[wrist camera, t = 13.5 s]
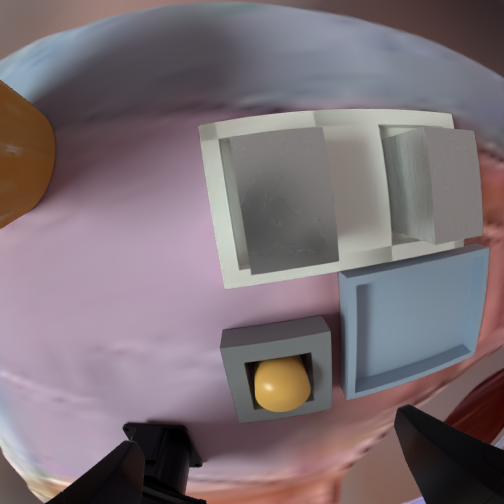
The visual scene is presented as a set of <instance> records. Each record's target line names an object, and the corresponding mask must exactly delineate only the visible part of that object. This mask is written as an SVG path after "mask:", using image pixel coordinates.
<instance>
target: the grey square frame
mask: <svg viewBox="0 0 504 504" xmlns="http://www.w3.org/2000/svg"><path fill="white" fill-rule="evenodd" d="M220 351H221V355H222V359H223V364H224V368H225V372H226V376H227V380H228V383H229V387H230V391H231V395H232V399H233V403H234V406H235V410H236V414H237V417H238V421H239V423H248V422H257V421H265V420H273V419H279V418H286V417H292V416H298V415H303V414H309V413H314V412H319V411H324V410H328V409H332V356H331V331H330V329H329V327H328V326H327V324H326V322H325V320H324V319H323V317H322V315H318V316H313V317H307V318H302V319H296V320H290V321H284V322H278V323H272V324H265V325H258V326H251V327H244V328H237V329H229V330H223V331H222V338H221V344H220ZM304 353H306V354H307V368H308V380H309V383H310V388H311V391H310V395H309V397H308V399H307V400H306V401H305V402H304V403H303V404H302V405H301V406H299V407H297V408H296V409H293V410H290V411H286V412H274V411H270V410H267V409H265V408H263V407H262V406H261V405H260V404H259V403H258V402H257V400H256V397H255V389H253V387H252V382H251V377H250V372H249V367H248V362H254V361H261V360H268V359H274V358H281V357H287V356H293V355H299V354H304Z"/></svg>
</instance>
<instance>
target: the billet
mask: <svg viewBox="0 0 504 504" xmlns="http://www.w3.org/2000/svg"><path fill="white" fill-rule="evenodd" d="M382 146H383V152H384V159H385V166H386V173H387V181H388V190H389V200H390V211H391V224H392V231H395V232H398V233H401V234H404V235H407V236H410V237H413V238H416V239H419V240H421V241H424V242H427V243H430V244H433V245H438V244H443V243H448V242H453V241H458V240H463V239H467V238H472V237H477V236H482V235H483V212H482V191H481V179H480V169H479V160H478V153H477V146H476V140H475V134H474V131H472V130H462V129H450V128H434V127H421V128H418V129H414V130H411V131H408V132H404V133H401V134H398V135H395V136H391V137H388V138H385V139H382Z"/></svg>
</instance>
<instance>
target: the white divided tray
mask: <svg viewBox="0 0 504 504" xmlns="http://www.w3.org/2000/svg"><path fill="white" fill-rule="evenodd" d="M316 127H323V132H324V138H325V144H326V150H327V157H328V163H329V170H330V177H331V185H332V192H333V200H334V209H335V218H336V228H337V238H338V250H339V261H338V262H333V263H327V264H320V265H314V266H308V267H302V268H296V269H290V270H283V271H277V272H270V273H264V274H257V275H251V270H250V263H249V257H248V251H247V244H246V238H245V232H244V225H243V219H242V213H241V206H240V200H239V193H238V187H237V180H236V174H235V168H234V161H233V155H232V148H231V142H230V137H236V136H243V135H250V134H257V133H265V132H273V131H282V130H292V129H303V128H316ZM421 127H434V128H450V129H454V125H453V120H452V115H451V114H447V113H438V112H427V111H413V110H394V109H334V110H313V111H299V112H287V113H277V114H268V115H260V116H252V117H245V118H238V119H231V120H225V121H219V122H213V123H208V124H203V125H198V130H199V137H200V144H201V151H202V157H203V164H204V171H205V177H206V183H207V190H208V196H209V202H210V208H211V214H212V220H213V226H214V232H215V238H216V243H217V249H218V255H219V260H220V266H221V271H222V277H223V282H224V287H225V289H230V288H237V287H244V286H251V285H257V284H264V283H271V282H277V281H283V280H290V279H296V278H302V277H308V276H314V275H320V274H326V273H332V272H337V271H343V270H349V269H354V268H360V267H365V266H370V265H376V264H381V263H386V262H392V261H397V260H402V259H407V258H412V257H417V256H422V255H427V254H431V253H436V252H441V251H446V250H450V249H455V248H460V247H464V239H463V240H458V241H453V242H448V243H443V244H438V245H433V244H430V243H427V242H424V241H421V240H419V239H416V238H413V237H410V236H407V235H404V234H401V233H398V232H395V231H392V224H391V211H390V200H389V190H388V181H387V173H386V166H385V159H384V152H383V146H382V139H385V138H388V137H391V136H395V135H398V134H401V133H404V132H408V131H411V130H414V129H418V128H421Z"/></svg>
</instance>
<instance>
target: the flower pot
mask: <svg viewBox="0 0 504 504" xmlns="http://www.w3.org/2000/svg"><path fill="white" fill-rule="evenodd" d="M55 149H56V145H55V136H54V132H53V129H52V126H51V124H50V122H49V121H48V119H47V118H46V116H45V115H44V114H43V113H42V112H40V111H39V110H38V109H37V108H36V107H34V106H33V105H32V104H31V103H29V102H28V101H27V100H26V99H24V98H23V97H22V96H21V95H20V94H18V93H17V92H16V91H14V90H13V89H12V88H10V87H9V86H8V85H6V84H5V83H4V82H3V81H1V80H0V229H1V228H3V227H5V226H6V225H8V224H9V223H11V222H12V221H14V220H16V219H17V218H19V217H21V216H22V215H24V214H26V213H27V212H29V211H30V210H32V209H33V208H34V207H35V206H36V205H37V203H38V202H39V201H40V200H41V198H42V197H43V195H44V193H45V191H46V189H47V187H48V185H49V182H50V180H51V176H52V173H53V168H54V163H55Z"/></svg>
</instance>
